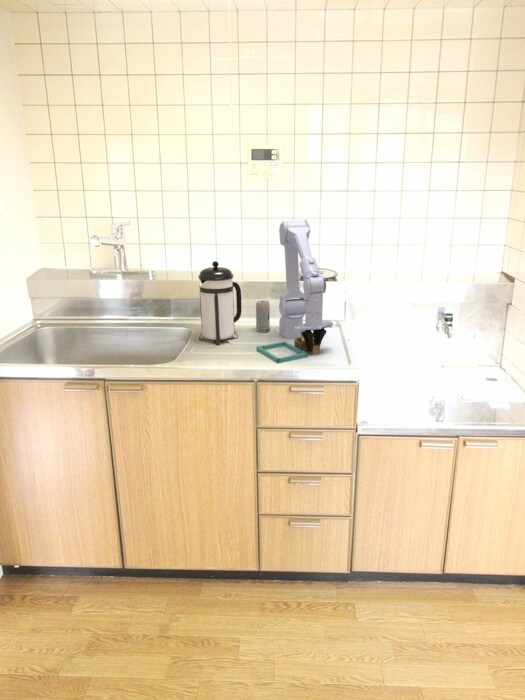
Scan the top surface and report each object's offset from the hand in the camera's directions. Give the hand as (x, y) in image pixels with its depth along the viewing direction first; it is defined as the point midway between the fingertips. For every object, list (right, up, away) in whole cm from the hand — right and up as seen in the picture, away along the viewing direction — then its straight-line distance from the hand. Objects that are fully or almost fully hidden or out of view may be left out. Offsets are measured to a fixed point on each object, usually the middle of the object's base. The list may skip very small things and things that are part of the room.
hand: (313, 349), depth 178 cm
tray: (-11, -2, 0) cm, 11 cm away
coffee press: (-34, +4, +20) cm, 40 cm away
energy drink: (-17, +7, +29) cm, 35 cm away
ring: (-2, 0, +3) cm, 4 cm away
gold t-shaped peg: (-3, 0, +5) cm, 6 cm away
